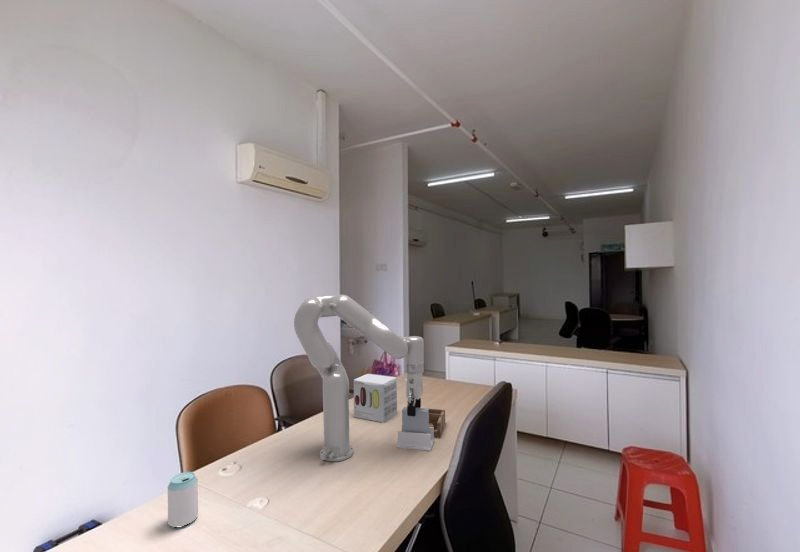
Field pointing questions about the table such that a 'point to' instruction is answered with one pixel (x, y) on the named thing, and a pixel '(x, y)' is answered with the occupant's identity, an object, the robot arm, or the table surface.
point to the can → (182, 499)
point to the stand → (416, 440)
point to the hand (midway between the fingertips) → (414, 411)
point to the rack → (437, 421)
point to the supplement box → (375, 397)
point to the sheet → (416, 421)
